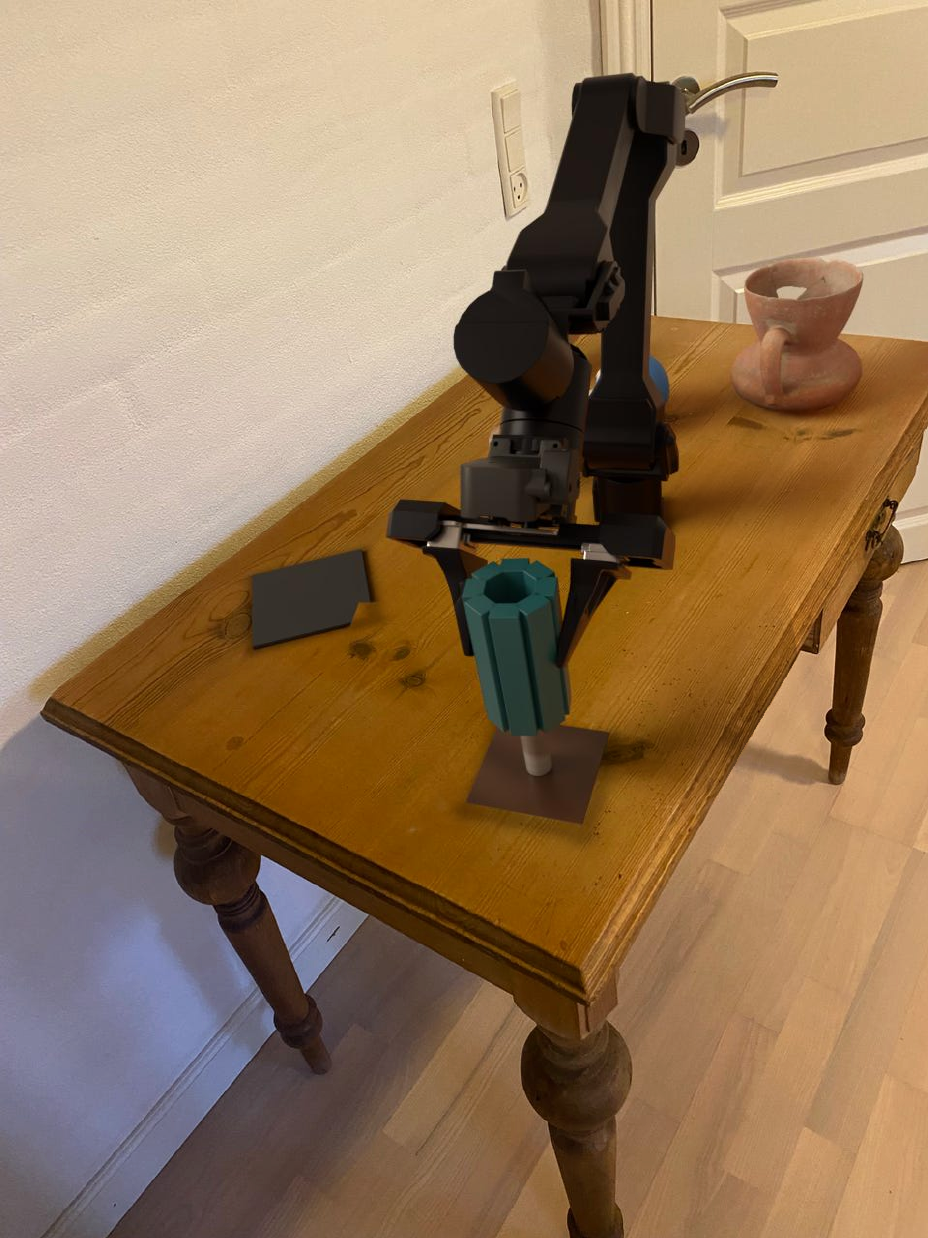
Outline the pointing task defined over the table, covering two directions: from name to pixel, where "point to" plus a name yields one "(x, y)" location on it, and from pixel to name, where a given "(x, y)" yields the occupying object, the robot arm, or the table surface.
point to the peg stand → (541, 773)
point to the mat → (307, 598)
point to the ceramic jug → (799, 336)
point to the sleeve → (518, 645)
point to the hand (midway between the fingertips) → (513, 662)
